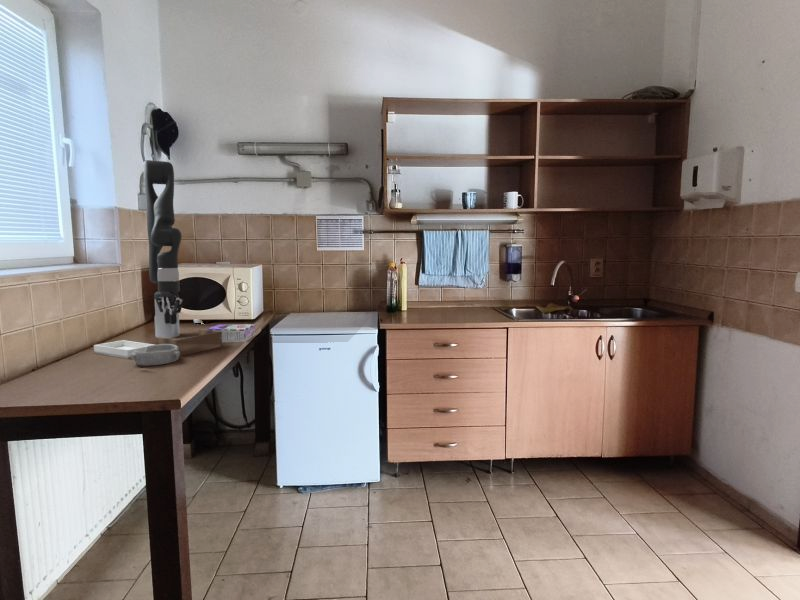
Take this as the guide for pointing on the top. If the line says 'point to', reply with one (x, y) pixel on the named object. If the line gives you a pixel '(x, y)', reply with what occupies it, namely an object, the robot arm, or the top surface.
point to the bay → (195, 342)
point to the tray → (120, 348)
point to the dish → (156, 355)
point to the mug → (198, 321)
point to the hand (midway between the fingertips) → (170, 323)
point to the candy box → (235, 332)
